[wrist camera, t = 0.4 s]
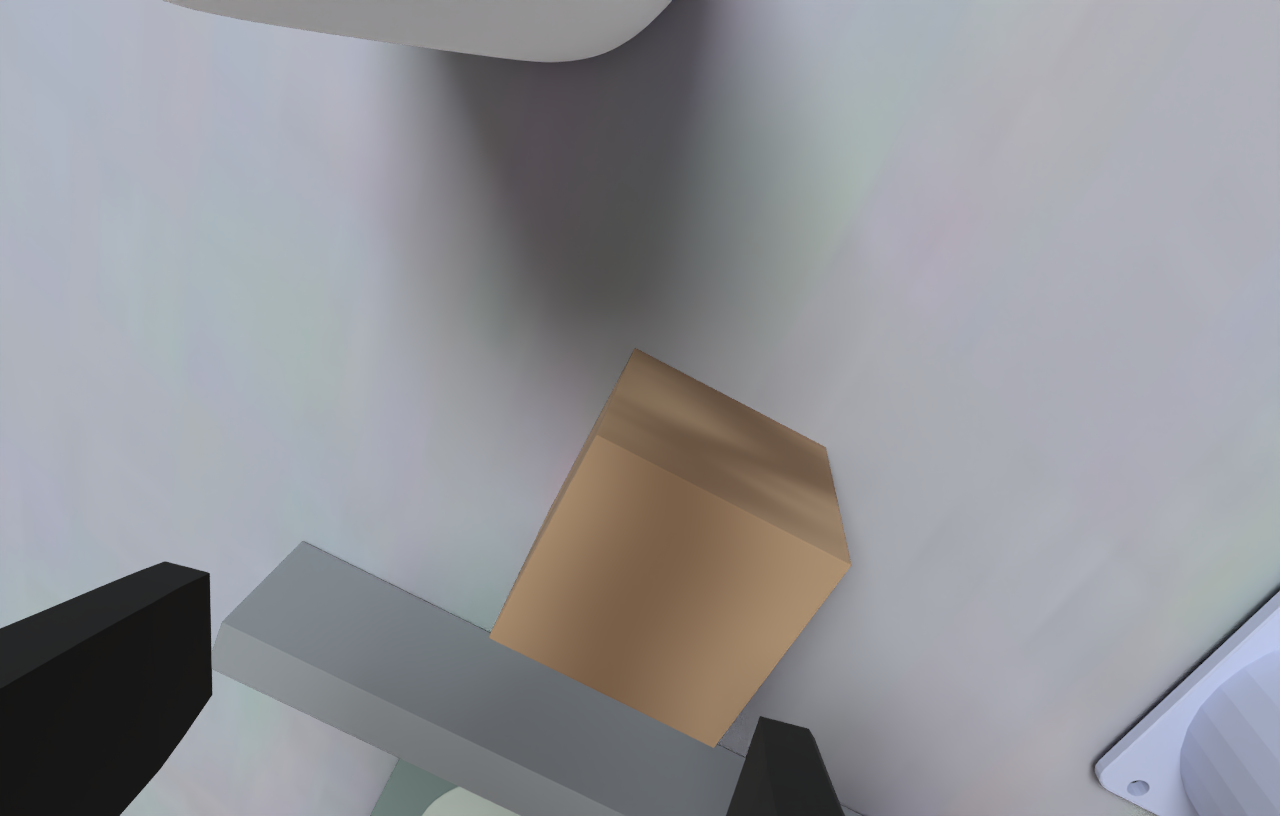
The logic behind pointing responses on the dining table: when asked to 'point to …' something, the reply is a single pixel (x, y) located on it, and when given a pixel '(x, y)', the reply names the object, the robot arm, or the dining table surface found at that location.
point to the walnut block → (679, 553)
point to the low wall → (460, 699)
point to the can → (460, 23)
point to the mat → (430, 796)
